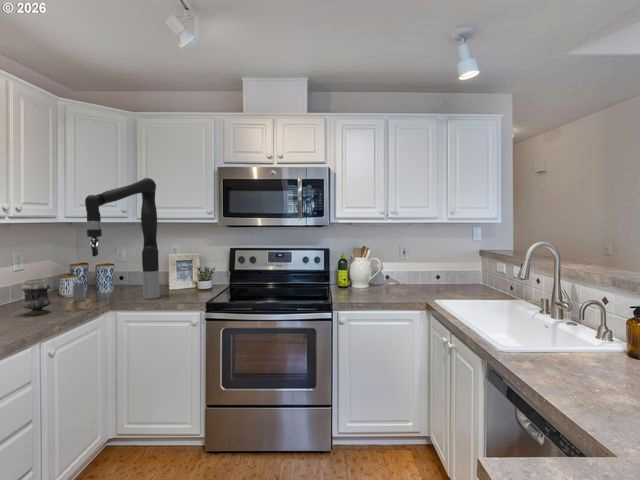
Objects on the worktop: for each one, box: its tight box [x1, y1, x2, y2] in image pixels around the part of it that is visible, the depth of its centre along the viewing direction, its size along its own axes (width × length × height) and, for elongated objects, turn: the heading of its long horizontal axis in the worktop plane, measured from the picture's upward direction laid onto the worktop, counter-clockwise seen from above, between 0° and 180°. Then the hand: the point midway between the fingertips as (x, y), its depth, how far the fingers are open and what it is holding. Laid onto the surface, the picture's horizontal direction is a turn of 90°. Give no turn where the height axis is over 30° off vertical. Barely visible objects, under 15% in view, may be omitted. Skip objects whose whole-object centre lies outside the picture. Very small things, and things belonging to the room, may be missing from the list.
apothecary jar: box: [21, 278, 52, 317], centre depth 191 cm, size 12×12×18 cm
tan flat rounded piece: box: [65, 298, 93, 312], centre depth 203 cm, size 10×10×4 cm
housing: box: [72, 280, 88, 303], centre depth 203 cm, size 6×6×11 cm
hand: (95, 255), depth 218 cm, fingers open, 8 cm apart
